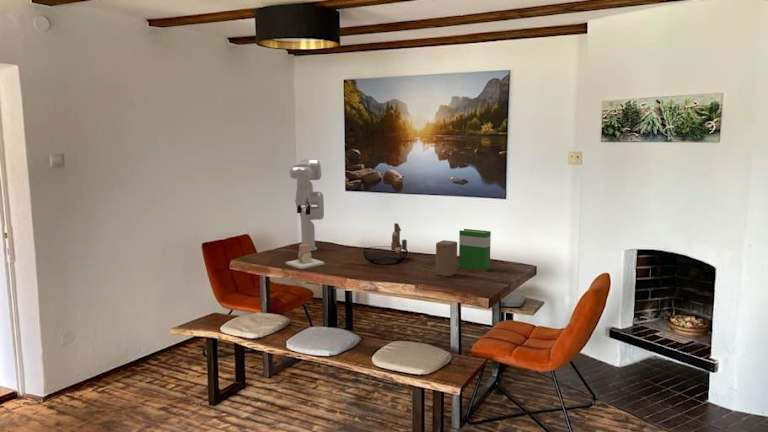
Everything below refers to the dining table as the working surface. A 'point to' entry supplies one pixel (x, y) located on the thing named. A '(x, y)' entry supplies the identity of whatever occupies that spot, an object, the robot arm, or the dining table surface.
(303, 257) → the maple block
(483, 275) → the dining table surface
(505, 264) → the dining table surface
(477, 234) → the green cereal box
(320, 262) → the plate
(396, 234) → the wooden toy
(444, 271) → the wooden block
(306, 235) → the robot arm
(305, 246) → the terracotta block
